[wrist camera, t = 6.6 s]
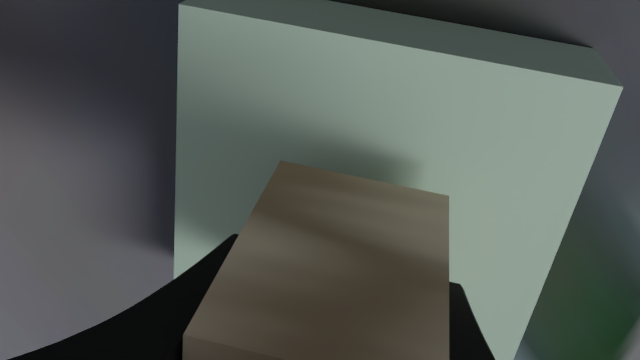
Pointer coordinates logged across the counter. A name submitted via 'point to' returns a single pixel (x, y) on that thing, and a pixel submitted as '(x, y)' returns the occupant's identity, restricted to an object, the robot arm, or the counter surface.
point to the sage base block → (392, 130)
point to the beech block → (330, 275)
